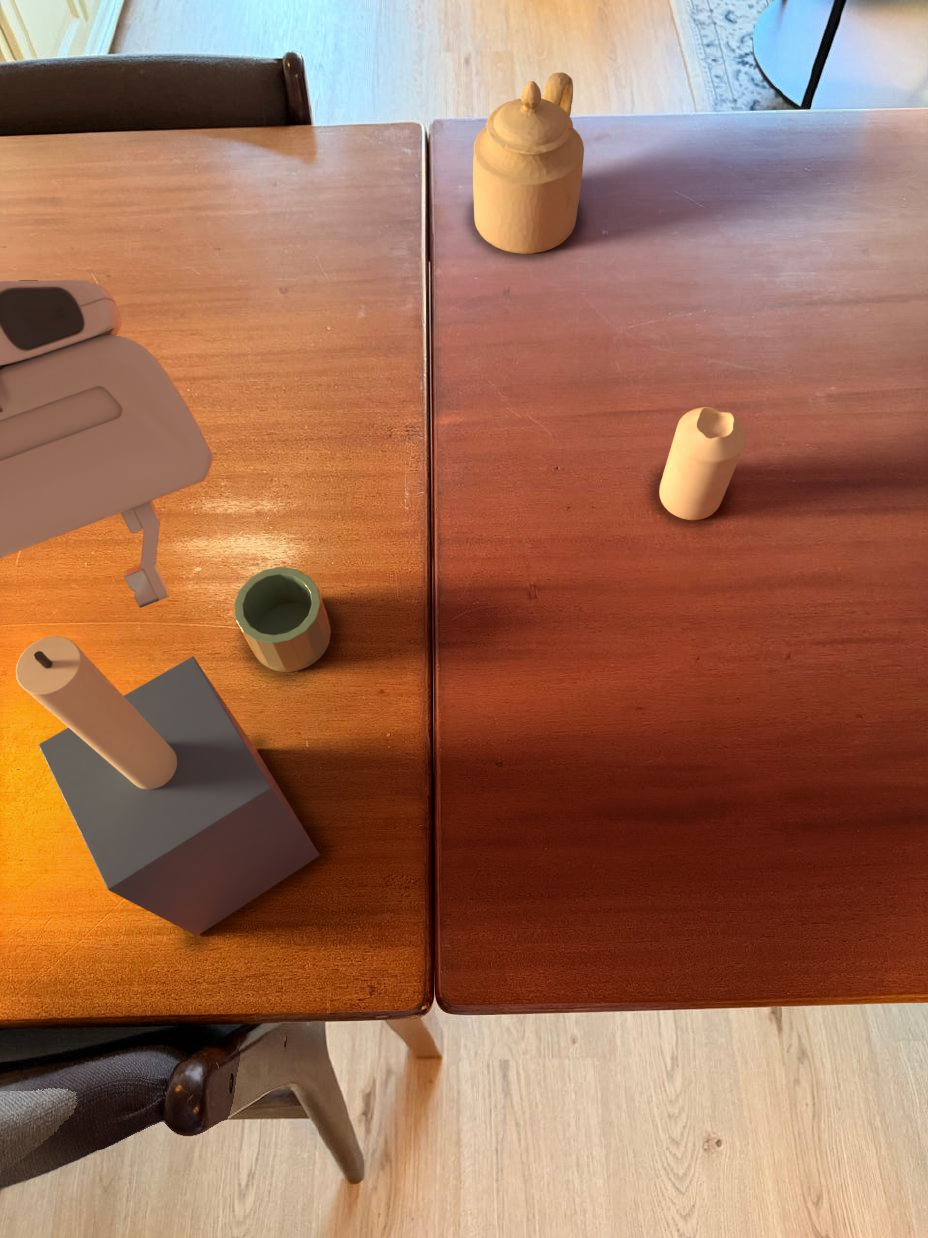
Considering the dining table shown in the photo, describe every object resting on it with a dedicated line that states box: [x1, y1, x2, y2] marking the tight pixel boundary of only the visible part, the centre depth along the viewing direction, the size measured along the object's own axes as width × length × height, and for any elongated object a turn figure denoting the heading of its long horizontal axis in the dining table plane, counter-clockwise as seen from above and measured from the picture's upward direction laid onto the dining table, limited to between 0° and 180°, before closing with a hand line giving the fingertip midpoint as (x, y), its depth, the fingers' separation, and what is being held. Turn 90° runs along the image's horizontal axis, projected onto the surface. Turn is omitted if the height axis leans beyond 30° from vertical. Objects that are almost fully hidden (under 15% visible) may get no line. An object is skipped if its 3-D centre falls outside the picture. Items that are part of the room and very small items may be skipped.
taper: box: [15, 635, 177, 789], centre depth 45 cm, size 3×3×15 cm
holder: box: [233, 566, 332, 673], centre depth 72 cm, size 7×7×6 cm
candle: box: [659, 406, 747, 521], centre depth 76 cm, size 6×6×10 cm
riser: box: [38, 656, 320, 937], centre depth 59 cm, size 10×10×17 cm
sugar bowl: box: [472, 71, 585, 255], centre depth 91 cm, size 15×11×15 cm
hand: (61, 638), depth 44 cm, fingers open, 8 cm apart
